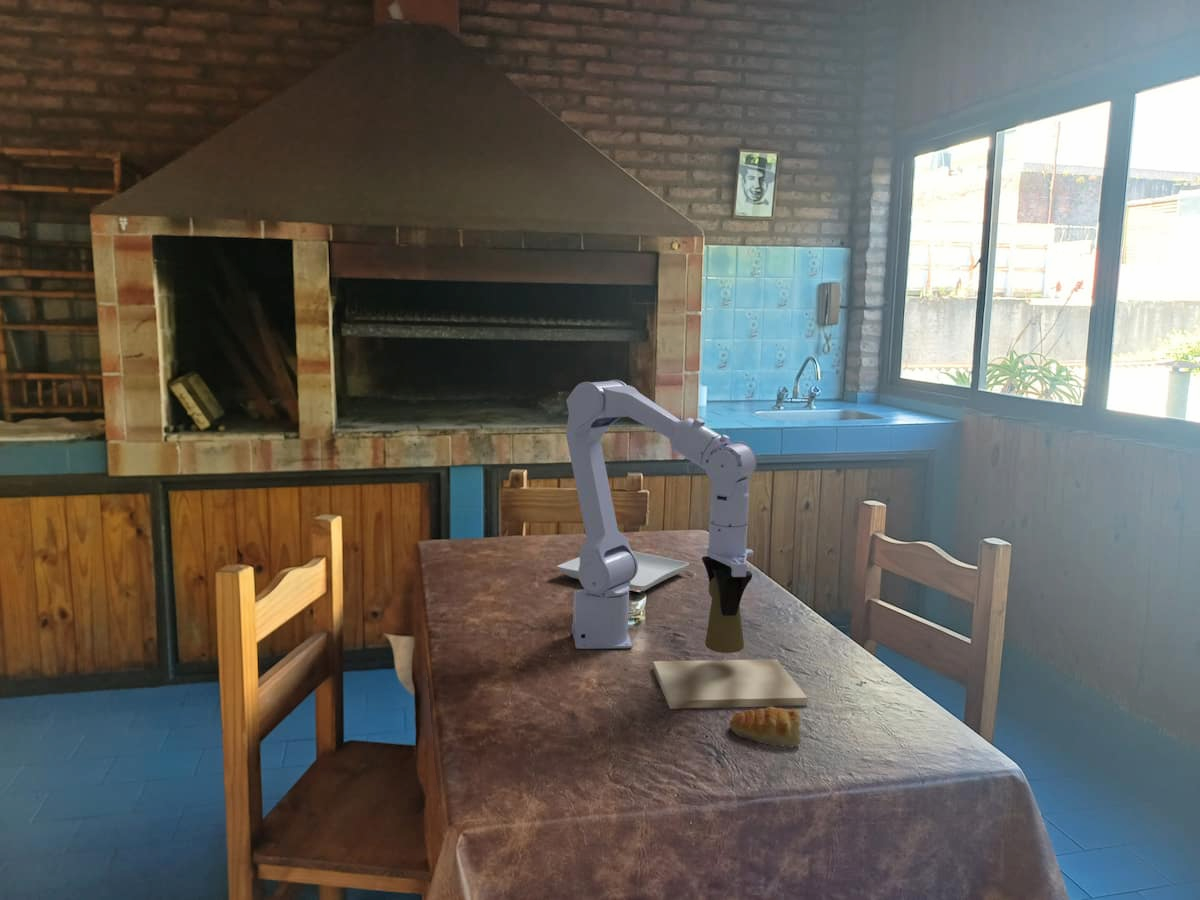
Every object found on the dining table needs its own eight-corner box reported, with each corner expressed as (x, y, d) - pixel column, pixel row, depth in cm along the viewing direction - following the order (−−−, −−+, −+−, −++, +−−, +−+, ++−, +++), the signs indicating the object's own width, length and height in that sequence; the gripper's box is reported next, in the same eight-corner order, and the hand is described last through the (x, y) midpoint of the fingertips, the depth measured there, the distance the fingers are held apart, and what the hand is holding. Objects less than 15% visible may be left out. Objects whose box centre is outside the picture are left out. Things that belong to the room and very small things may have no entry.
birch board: (670, 708, 121) (670, 700, 120) (653, 668, 134) (653, 661, 134) (806, 705, 123) (807, 697, 123) (776, 666, 137) (776, 659, 136)
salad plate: (690, 576, 185) (691, 560, 185) (642, 601, 167) (642, 584, 167) (607, 559, 196) (608, 544, 196) (554, 581, 178) (554, 565, 178)
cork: (701, 637, 136) (702, 571, 134) (739, 636, 136) (740, 570, 134) (709, 653, 130) (710, 584, 128) (748, 652, 130) (749, 583, 128)
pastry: (729, 743, 112) (731, 716, 111) (729, 720, 118) (731, 694, 118) (803, 751, 110) (804, 723, 110) (799, 727, 117) (800, 701, 116)
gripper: (768, 534, 123) (763, 624, 125) (740, 512, 137) (736, 593, 140) (721, 534, 122) (716, 625, 124) (697, 511, 137) (694, 593, 139)
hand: (724, 608), depth 132 cm, fingers closed on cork, 5 cm apart
